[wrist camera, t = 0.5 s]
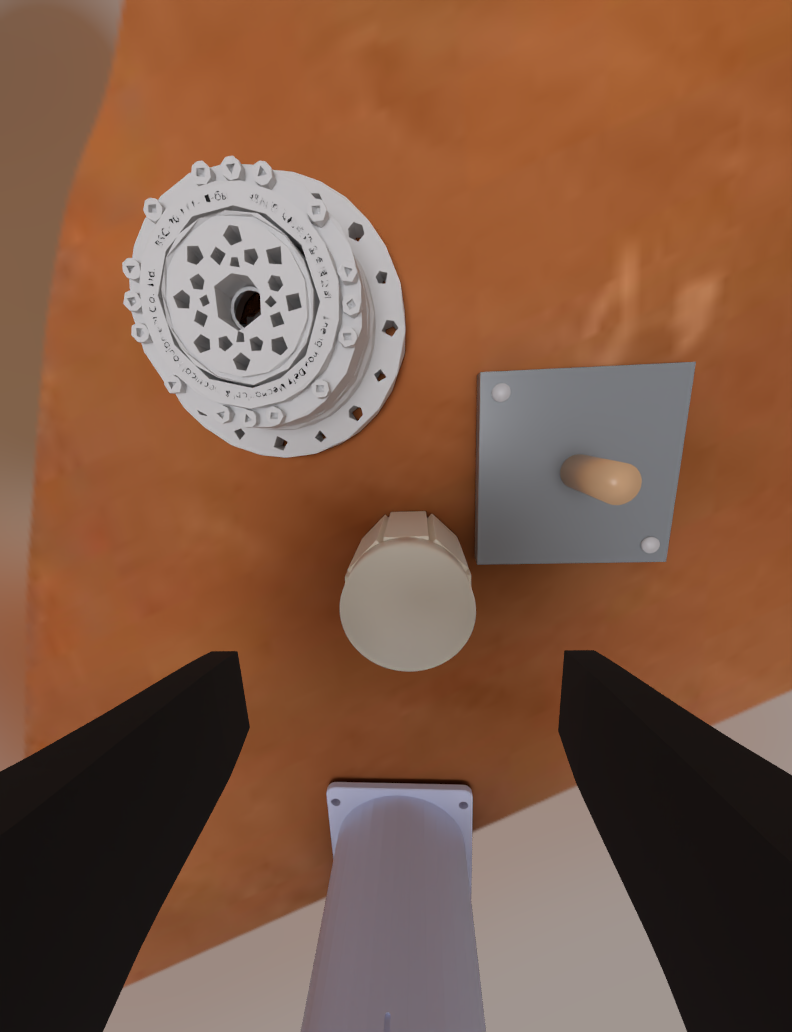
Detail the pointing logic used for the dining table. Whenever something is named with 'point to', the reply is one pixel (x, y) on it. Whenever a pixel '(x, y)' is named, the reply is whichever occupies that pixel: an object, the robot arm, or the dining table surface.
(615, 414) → the plate
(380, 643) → the wire nut
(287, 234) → the mechanical component
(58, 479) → the dining table surface
